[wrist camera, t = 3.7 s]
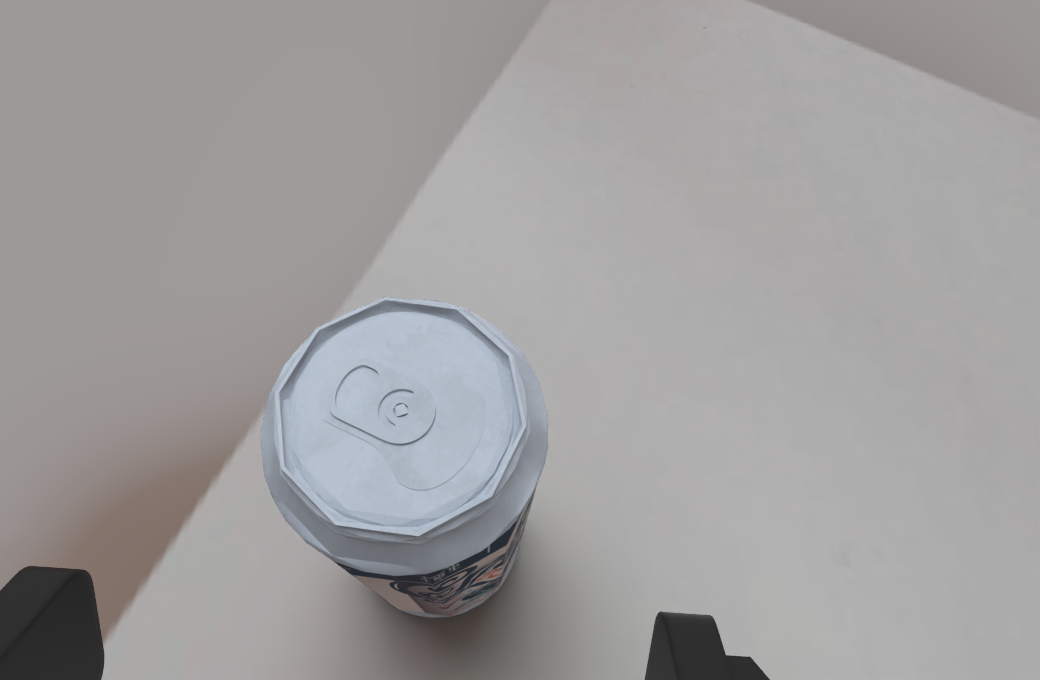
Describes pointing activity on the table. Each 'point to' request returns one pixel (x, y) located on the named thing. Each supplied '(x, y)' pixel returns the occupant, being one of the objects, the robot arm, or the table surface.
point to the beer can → (409, 451)
